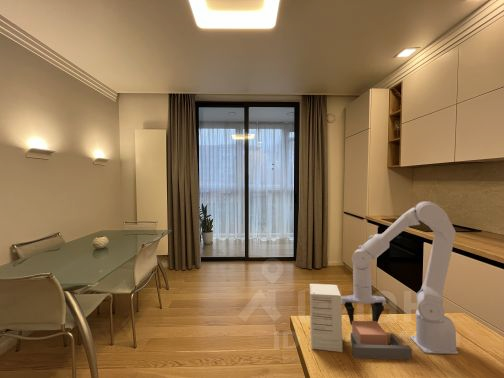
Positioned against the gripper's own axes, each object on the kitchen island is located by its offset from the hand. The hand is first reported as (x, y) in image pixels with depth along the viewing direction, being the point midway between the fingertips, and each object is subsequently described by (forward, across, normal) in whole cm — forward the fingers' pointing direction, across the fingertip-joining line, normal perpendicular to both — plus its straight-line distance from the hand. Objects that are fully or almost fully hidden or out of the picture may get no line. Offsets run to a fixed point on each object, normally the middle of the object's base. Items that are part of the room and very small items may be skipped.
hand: (363, 324), depth 86 cm
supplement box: (+2, +14, +7) cm, 16 cm away
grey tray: (+2, 0, +10) cm, 10 cm away
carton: (+2, 0, +6) cm, 6 cm away
